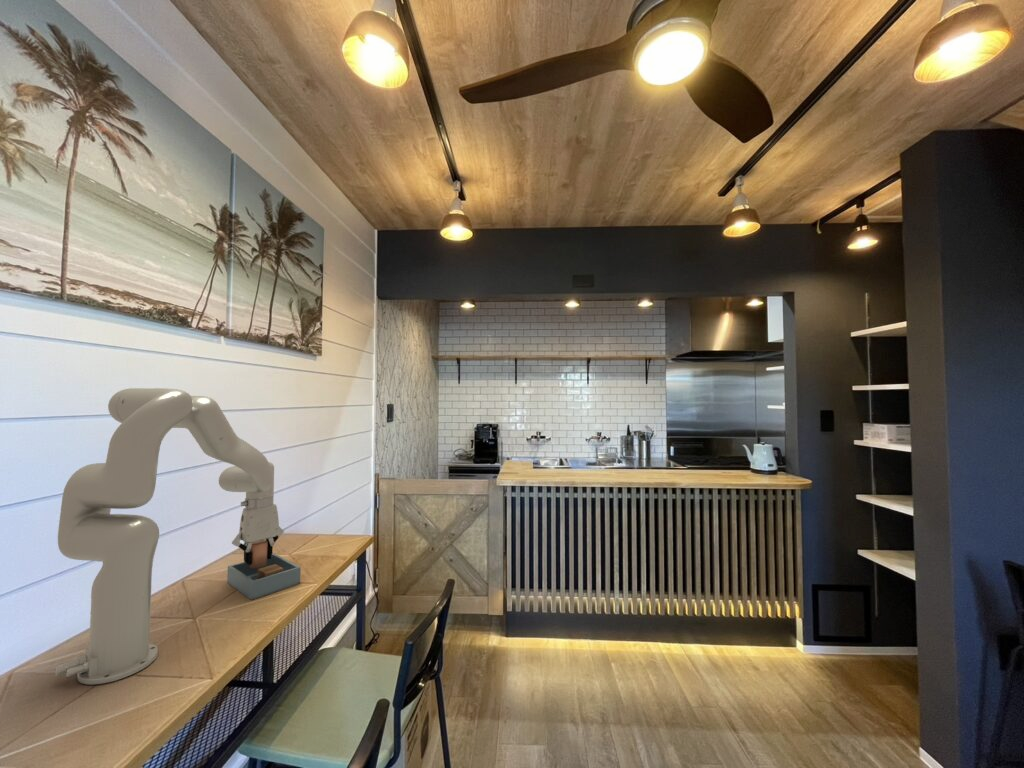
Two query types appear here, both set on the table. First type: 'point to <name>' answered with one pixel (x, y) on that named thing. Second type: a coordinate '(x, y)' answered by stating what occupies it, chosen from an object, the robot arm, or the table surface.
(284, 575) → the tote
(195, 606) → the table surface
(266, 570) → the walnut cube
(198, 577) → the table surface
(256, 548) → the salmon orange cylinder
